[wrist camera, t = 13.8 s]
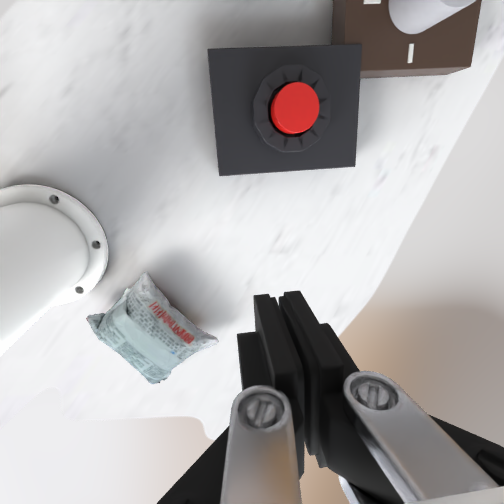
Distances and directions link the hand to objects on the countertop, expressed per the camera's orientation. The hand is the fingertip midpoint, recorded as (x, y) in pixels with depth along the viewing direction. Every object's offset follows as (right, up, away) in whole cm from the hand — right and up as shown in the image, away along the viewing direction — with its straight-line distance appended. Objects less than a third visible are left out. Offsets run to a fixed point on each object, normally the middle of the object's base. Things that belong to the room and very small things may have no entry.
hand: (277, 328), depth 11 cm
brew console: (+12, +25, +16) cm, 32 cm away
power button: (+2, +15, +14) cm, 20 cm away
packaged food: (-12, -5, +24) cm, 27 cm away
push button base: (+2, +16, +18) cm, 24 cm away
